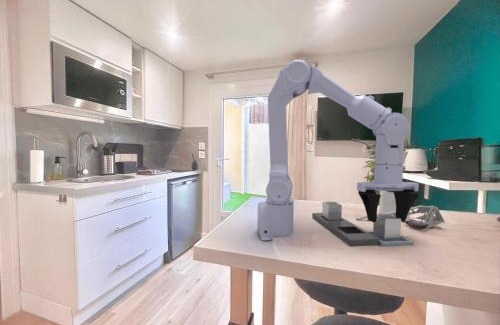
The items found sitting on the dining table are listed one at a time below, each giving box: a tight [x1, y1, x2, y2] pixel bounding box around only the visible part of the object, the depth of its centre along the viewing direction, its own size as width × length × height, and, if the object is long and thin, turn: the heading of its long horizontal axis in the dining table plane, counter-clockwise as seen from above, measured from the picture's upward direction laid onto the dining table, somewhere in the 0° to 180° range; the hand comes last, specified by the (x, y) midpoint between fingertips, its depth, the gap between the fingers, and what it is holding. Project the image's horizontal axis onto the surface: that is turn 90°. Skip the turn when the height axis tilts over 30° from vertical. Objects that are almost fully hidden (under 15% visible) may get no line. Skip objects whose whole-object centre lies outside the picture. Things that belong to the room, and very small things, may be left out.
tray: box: [366, 230, 414, 247], centre depth 54 cm, size 8×8×2 cm
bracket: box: [355, 205, 446, 229], centre depth 67 cm, size 3×21×10 cm, turn 79°
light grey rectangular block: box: [372, 213, 402, 242], centre depth 54 cm, size 4×4×6 cm
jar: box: [378, 191, 411, 223], centre depth 74 cm, size 9×8×12 cm
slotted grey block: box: [321, 201, 343, 221], centre depth 66 cm, size 4×4×6 cm
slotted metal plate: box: [311, 212, 380, 248], centre depth 61 cm, size 7×22×2 cm, turn 6°
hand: (386, 220), depth 54 cm, fingers open, 7 cm apart
